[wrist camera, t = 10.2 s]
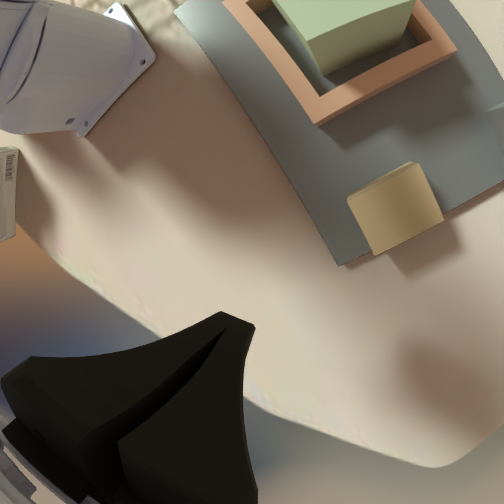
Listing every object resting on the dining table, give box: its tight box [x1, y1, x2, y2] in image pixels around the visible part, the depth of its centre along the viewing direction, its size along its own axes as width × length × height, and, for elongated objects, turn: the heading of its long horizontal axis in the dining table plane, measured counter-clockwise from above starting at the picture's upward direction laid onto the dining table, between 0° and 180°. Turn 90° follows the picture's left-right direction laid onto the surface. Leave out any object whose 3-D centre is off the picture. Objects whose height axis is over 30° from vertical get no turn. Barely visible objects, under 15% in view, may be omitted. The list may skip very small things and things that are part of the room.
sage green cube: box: [272, 0, 416, 76], centre depth 10 cm, size 5×5×6 cm
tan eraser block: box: [347, 161, 444, 256], centre depth 14 cm, size 4×3×2 cm
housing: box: [174, 0, 504, 267], centre depth 12 cm, size 15×20×4 cm
